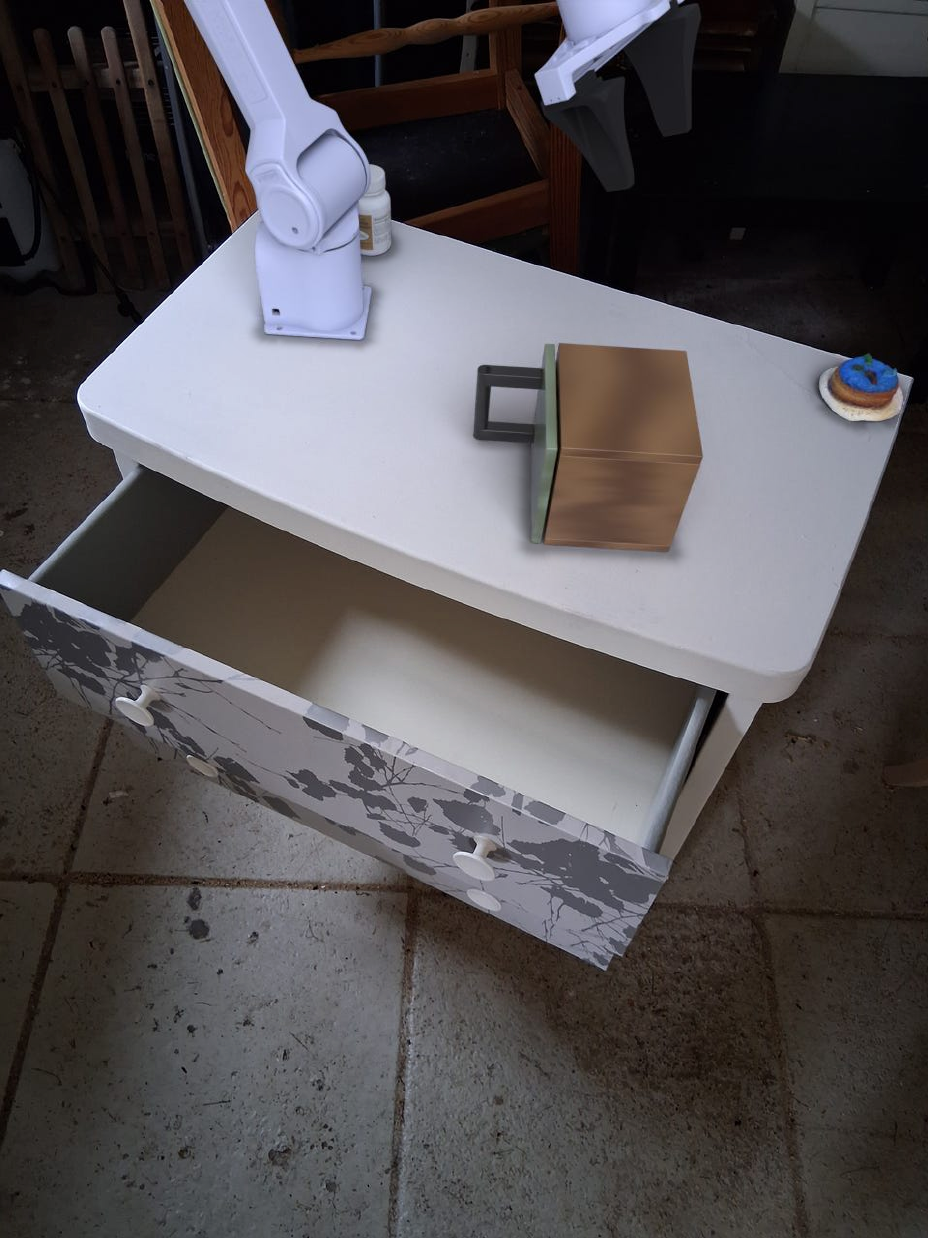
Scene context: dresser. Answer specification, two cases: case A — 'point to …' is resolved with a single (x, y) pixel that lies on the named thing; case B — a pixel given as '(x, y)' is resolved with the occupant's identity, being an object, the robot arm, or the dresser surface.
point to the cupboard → (621, 447)
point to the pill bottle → (375, 216)
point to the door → (524, 425)
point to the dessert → (862, 389)
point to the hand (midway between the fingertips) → (649, 159)
